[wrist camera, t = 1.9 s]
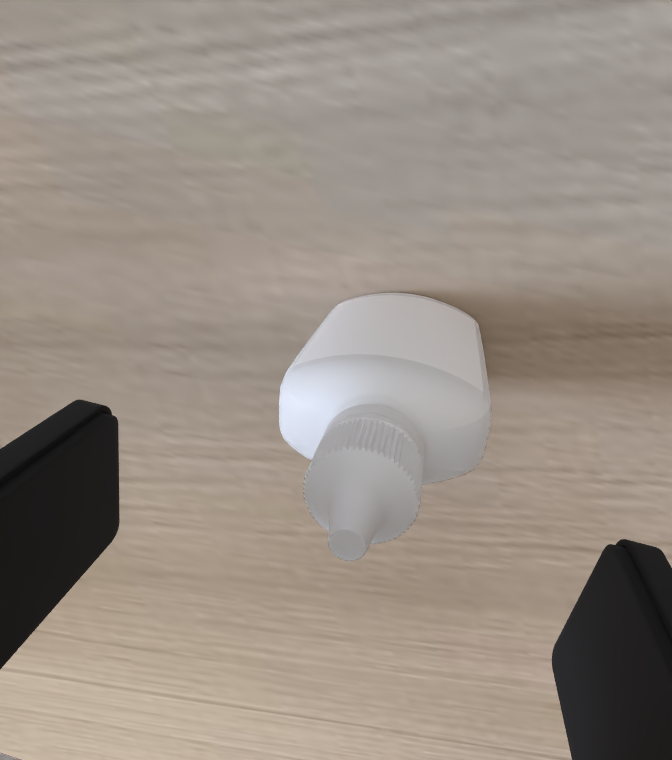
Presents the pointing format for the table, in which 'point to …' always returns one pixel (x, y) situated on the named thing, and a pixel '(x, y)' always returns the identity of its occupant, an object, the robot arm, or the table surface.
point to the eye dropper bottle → (384, 412)
